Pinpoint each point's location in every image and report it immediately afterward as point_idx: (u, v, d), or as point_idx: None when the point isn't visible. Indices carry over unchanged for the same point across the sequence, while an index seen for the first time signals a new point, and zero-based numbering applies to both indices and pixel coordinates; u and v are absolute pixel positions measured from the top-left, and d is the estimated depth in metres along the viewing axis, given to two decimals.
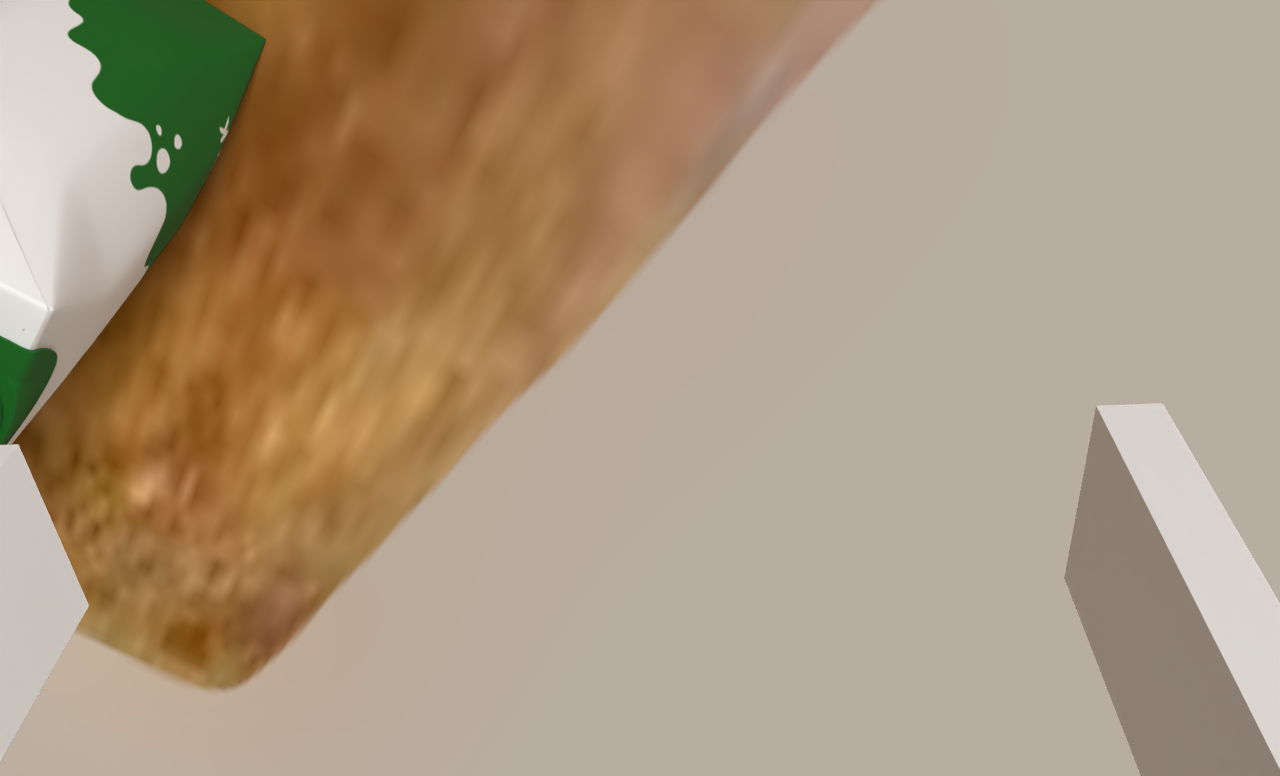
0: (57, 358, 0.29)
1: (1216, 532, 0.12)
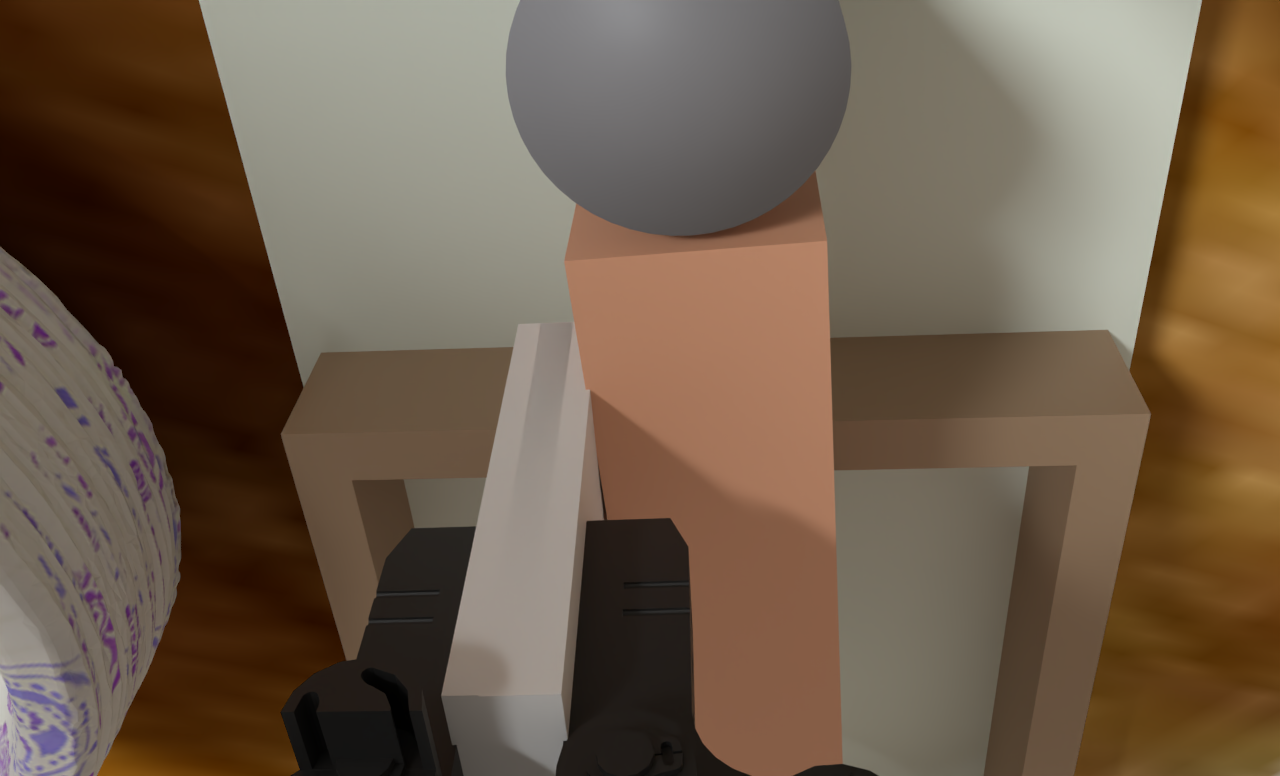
0: None
1: (568, 418, 0.14)
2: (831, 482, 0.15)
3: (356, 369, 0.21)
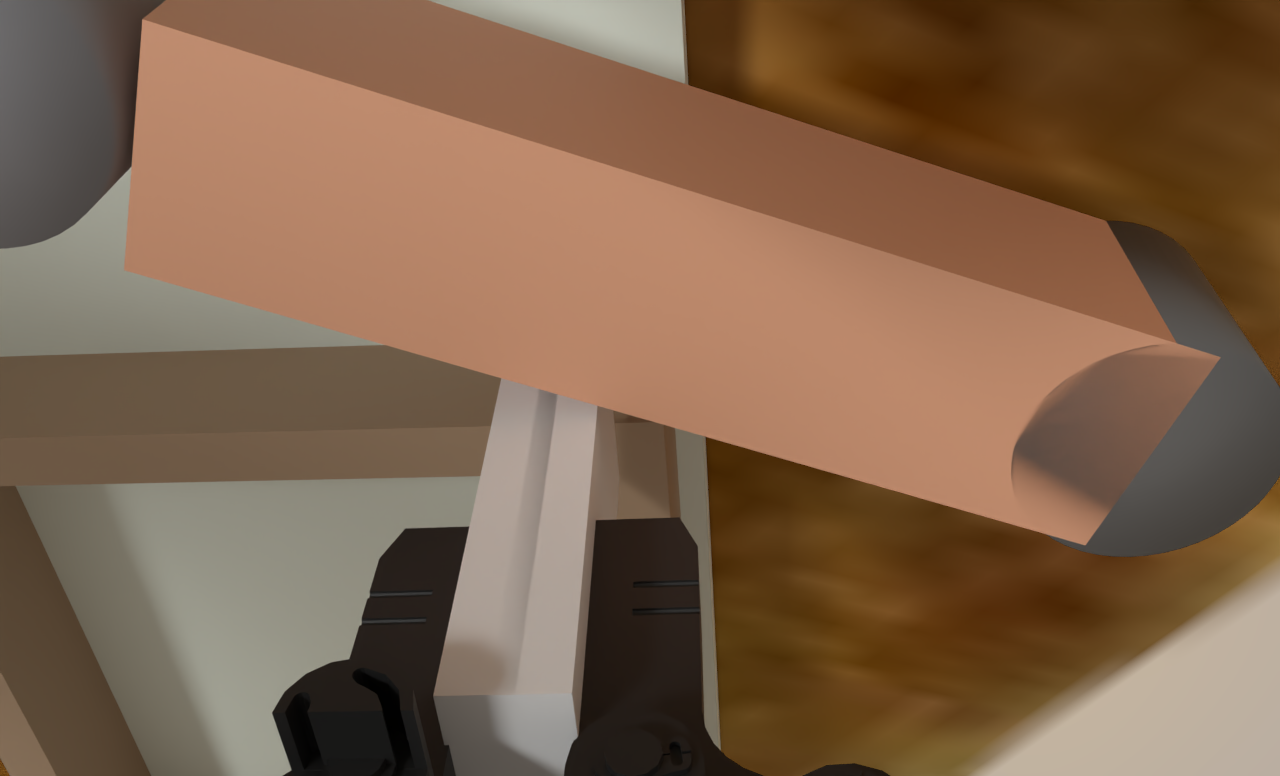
0: None
1: (577, 417, 0.14)
2: (484, 129, 0.12)
3: None
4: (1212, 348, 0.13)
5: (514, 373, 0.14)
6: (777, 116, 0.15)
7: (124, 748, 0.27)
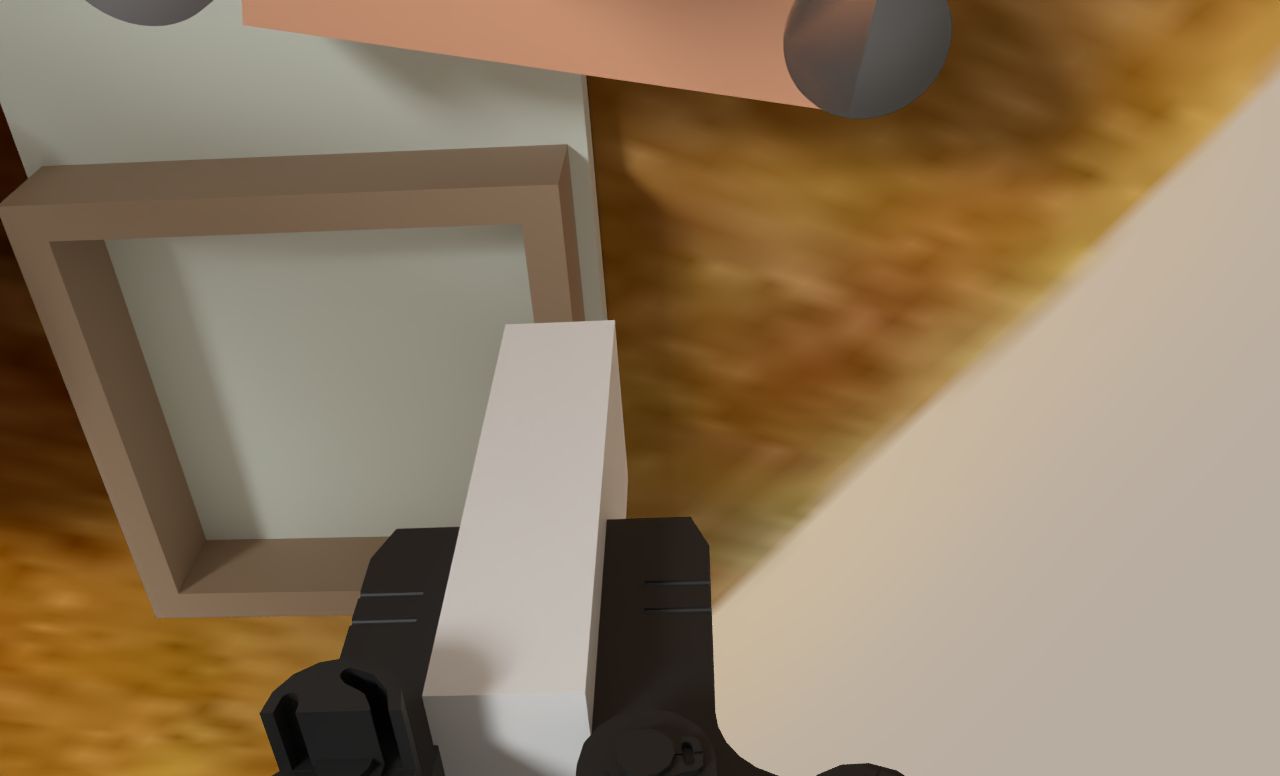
0: None
1: (588, 417, 0.14)
2: None
3: (61, 174, 0.31)
4: None
5: (475, 53, 0.24)
6: None
7: (179, 483, 0.37)
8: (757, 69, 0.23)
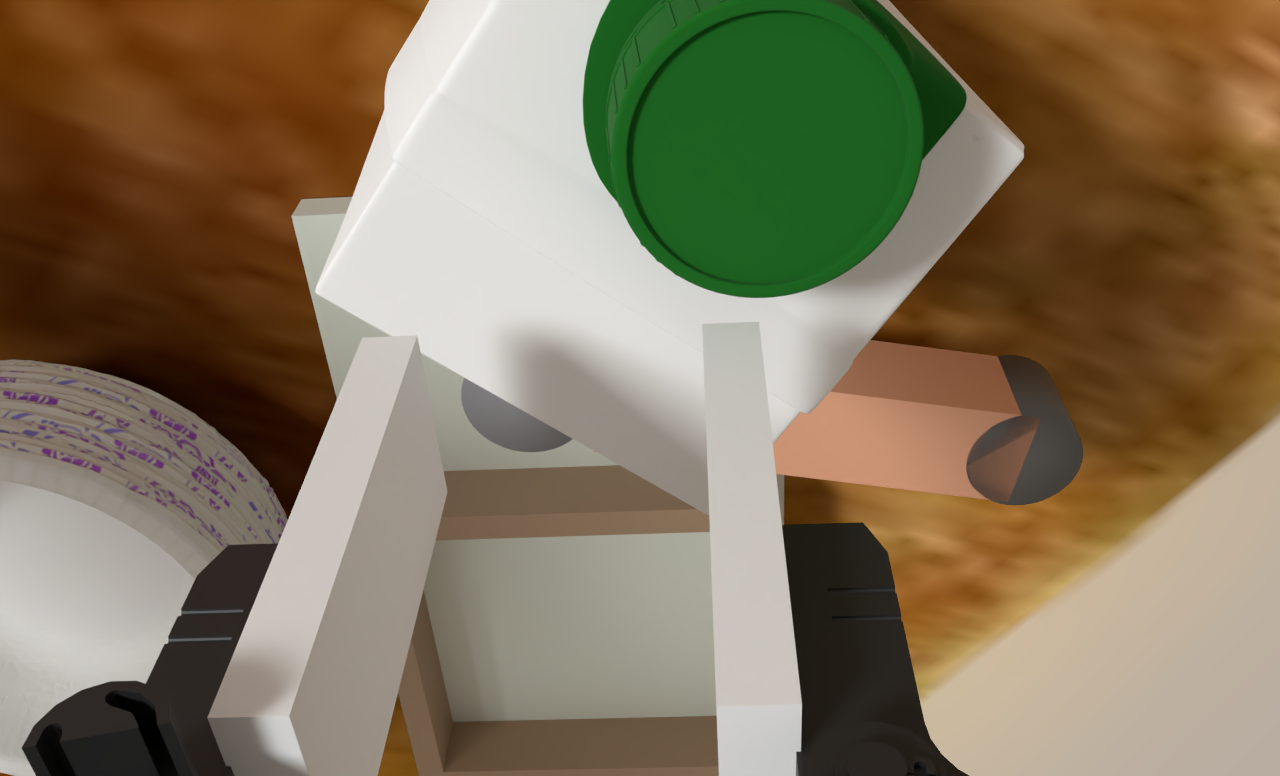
0: None
1: (750, 420, 0.14)
2: None
3: None
4: (1037, 414, 0.33)
5: None
6: None
7: (441, 685, 0.48)
8: (947, 477, 0.34)
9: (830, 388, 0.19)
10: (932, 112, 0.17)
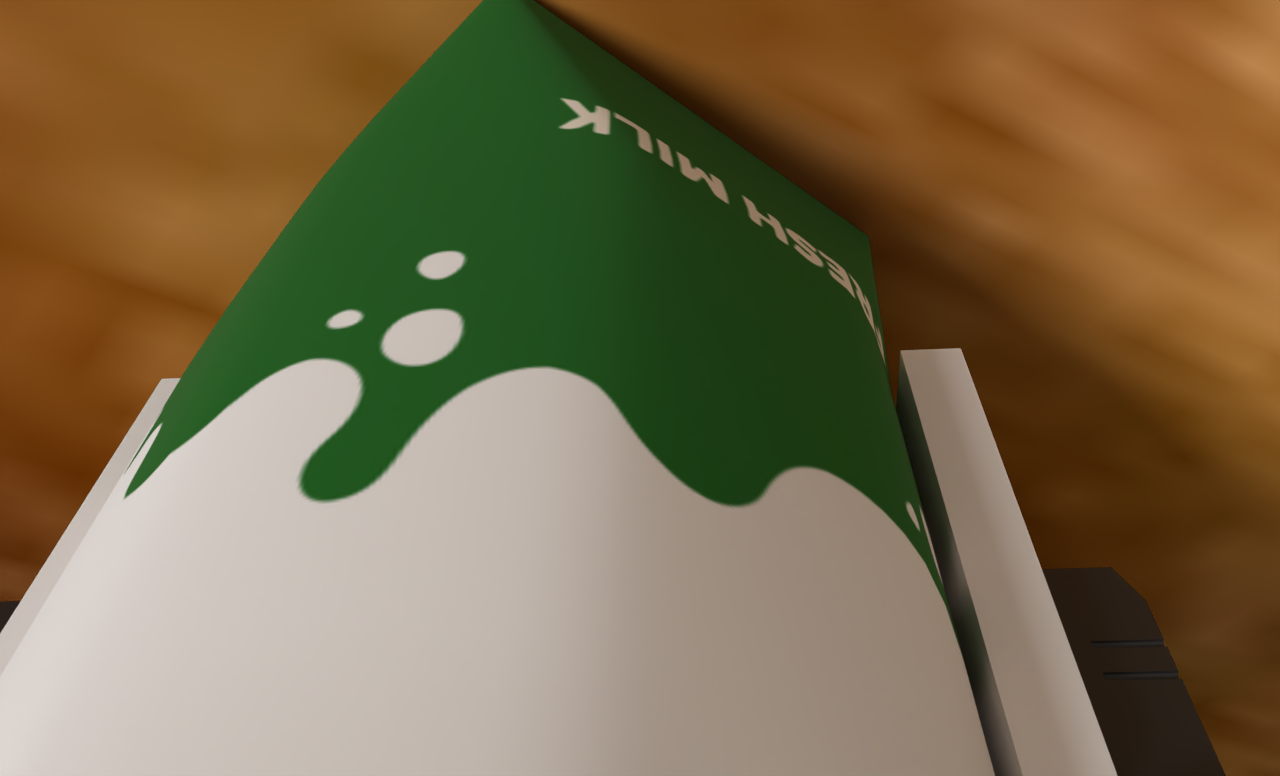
0: None
1: (980, 457, 0.13)
2: None
3: None
4: None
5: None
6: None
7: None
8: None
9: None
10: None
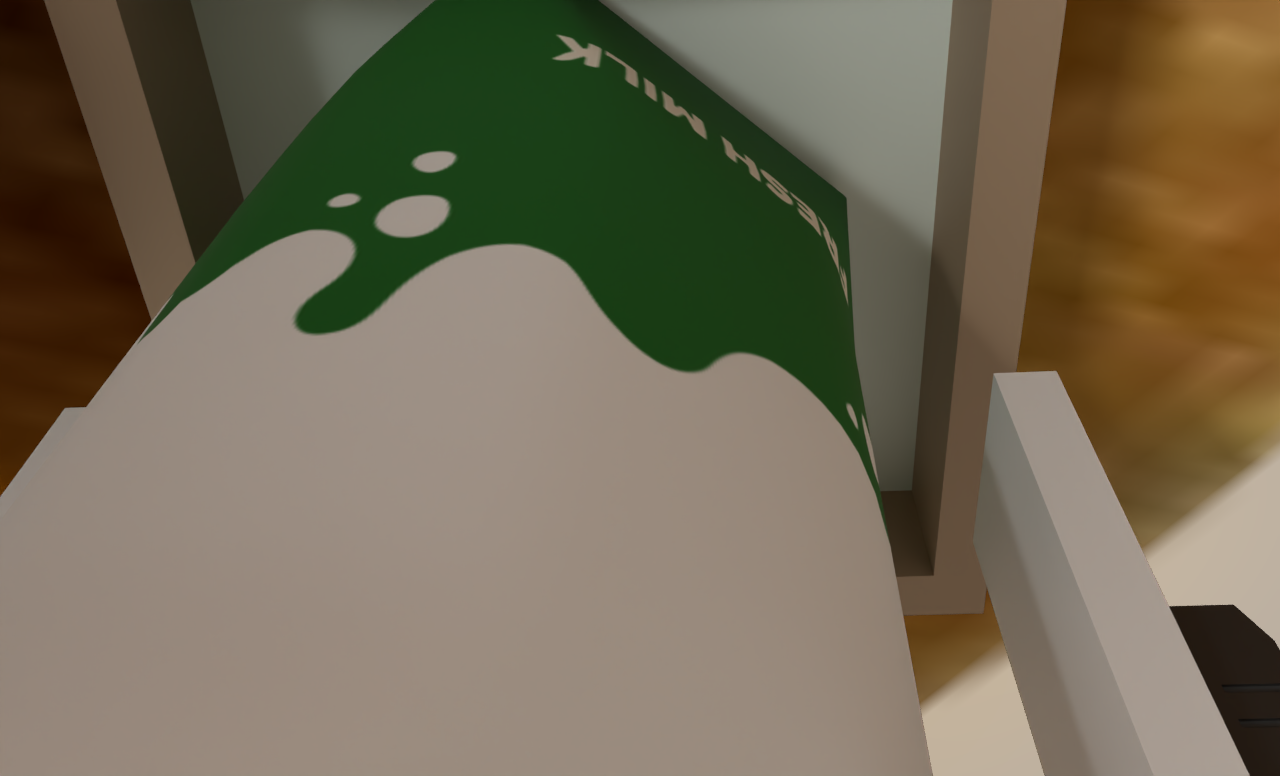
0: None
1: (1091, 487, 0.13)
2: None
3: None
4: None
5: None
6: None
7: None
8: None
9: None
10: None
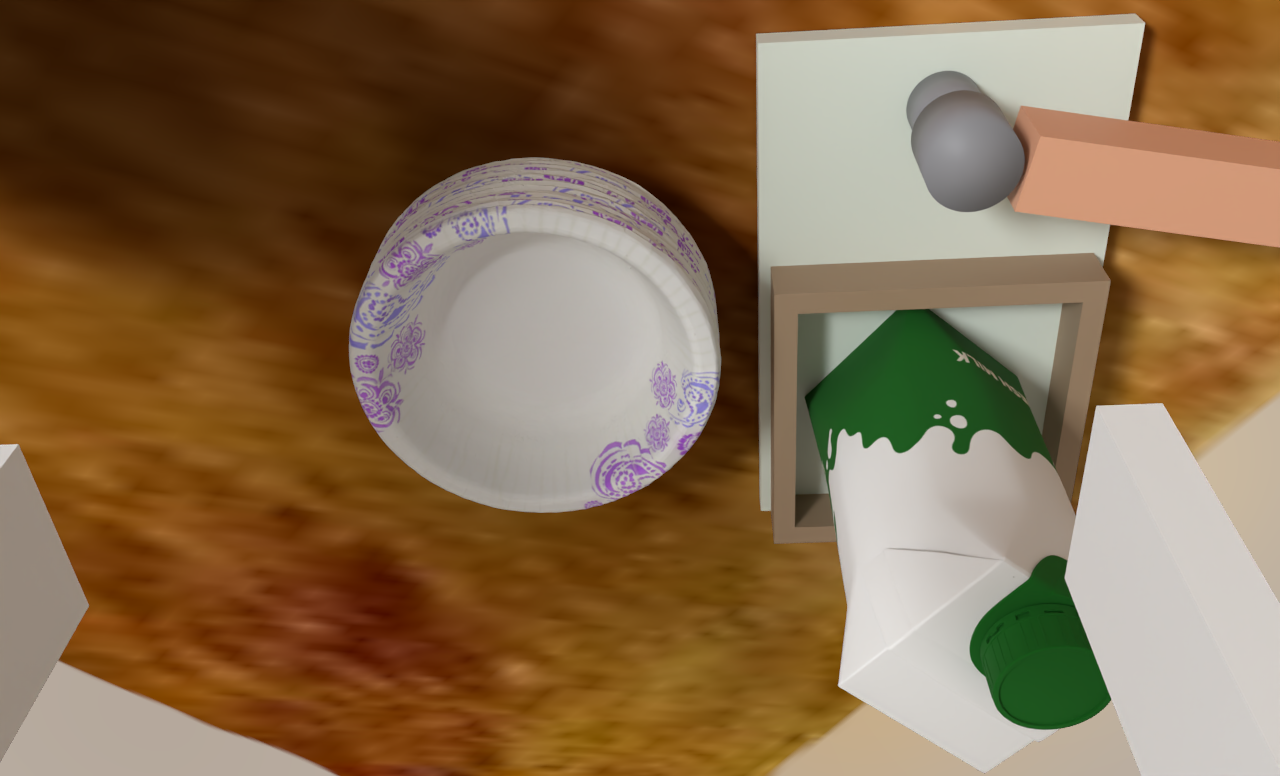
0: (1057, 552, 0.42)
1: (1216, 532, 0.12)
2: (1134, 150, 0.43)
3: (790, 272, 0.53)
4: None
5: (1134, 224, 0.45)
6: (1195, 130, 0.46)
7: None
8: None
9: (1051, 734, 0.43)
10: None
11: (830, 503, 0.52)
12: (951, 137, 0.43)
